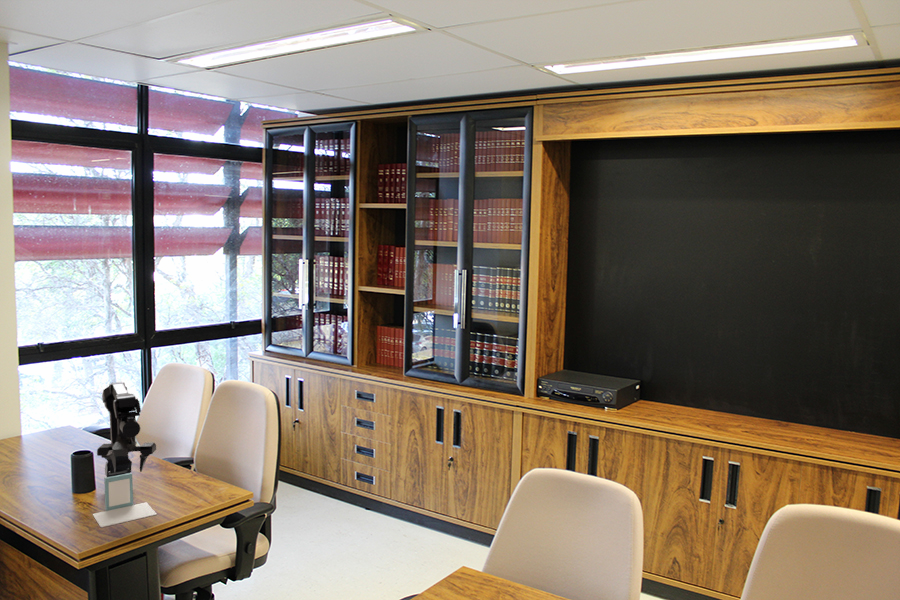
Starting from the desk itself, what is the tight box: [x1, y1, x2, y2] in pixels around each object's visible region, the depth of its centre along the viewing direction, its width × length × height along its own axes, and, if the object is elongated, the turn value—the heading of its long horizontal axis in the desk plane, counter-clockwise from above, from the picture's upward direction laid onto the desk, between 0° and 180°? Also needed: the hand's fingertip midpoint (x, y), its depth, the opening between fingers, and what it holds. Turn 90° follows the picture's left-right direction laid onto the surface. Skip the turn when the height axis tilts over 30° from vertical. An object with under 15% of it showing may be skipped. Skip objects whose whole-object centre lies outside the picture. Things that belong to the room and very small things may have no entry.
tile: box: [103, 472, 134, 511], centre depth 242 cm, size 2×9×12 cm, turn 128°
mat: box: [92, 501, 158, 528], centre depth 236 cm, size 14×18×1 cm
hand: (127, 471), depth 241 cm, fingers open, 9 cm apart
